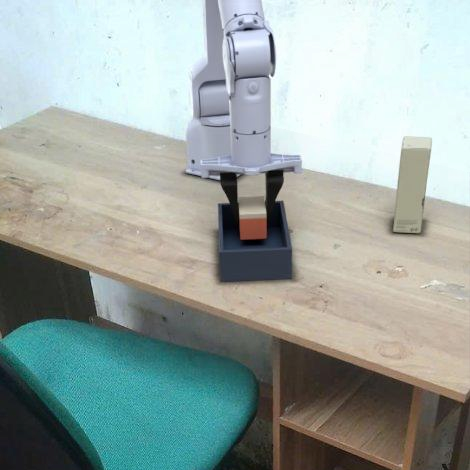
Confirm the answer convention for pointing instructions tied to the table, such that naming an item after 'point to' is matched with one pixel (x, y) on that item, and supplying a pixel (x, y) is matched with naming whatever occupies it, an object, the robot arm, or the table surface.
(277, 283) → the table surface
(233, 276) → the navy blue open bin
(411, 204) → the box
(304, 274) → the table surface
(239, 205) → the box
